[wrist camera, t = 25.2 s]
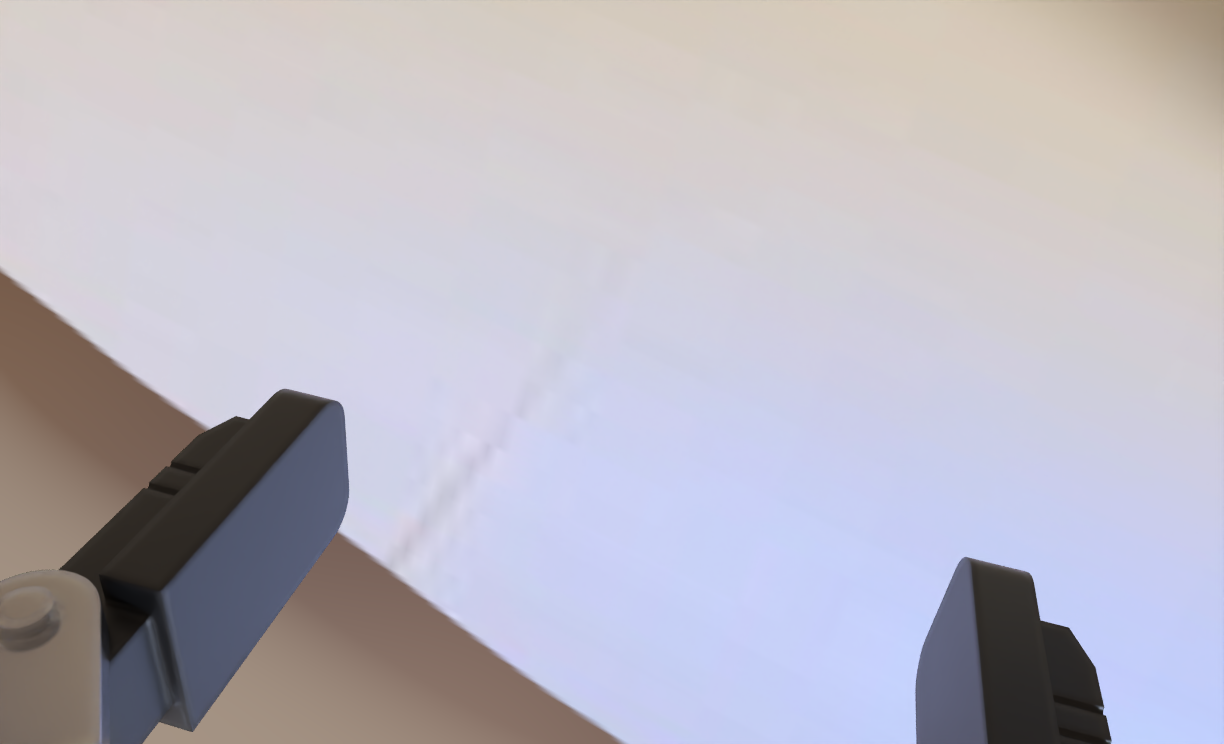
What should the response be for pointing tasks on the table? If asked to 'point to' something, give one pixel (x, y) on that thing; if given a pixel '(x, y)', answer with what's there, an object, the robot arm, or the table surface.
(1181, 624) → the table surface
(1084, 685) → the robot arm
